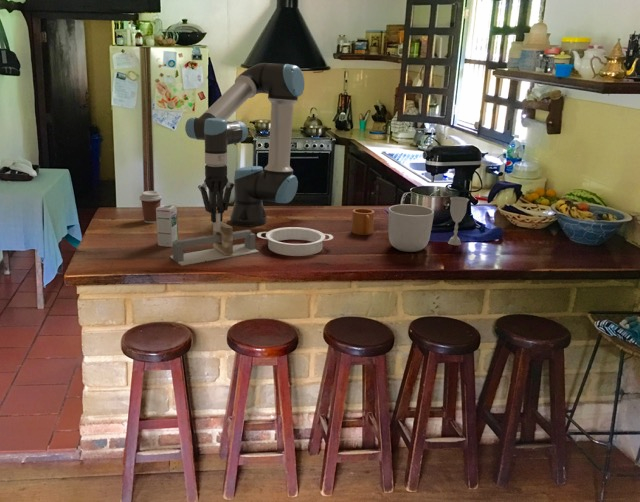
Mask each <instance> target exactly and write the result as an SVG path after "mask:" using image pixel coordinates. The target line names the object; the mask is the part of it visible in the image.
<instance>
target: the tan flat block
mask: <svg viewBox="0 0 640 502" xmlns="http://www.w3.org/2000/svg"><path fill="white" fill-rule="evenodd" d="M220 230H221V231H219V232H216V231H214V230H213V229H212V235H216V234H222V242H216V243H212V247H213V249H217V250H219V251H220V252H222V253H223V254H225V255H226V254H232V253H233V245H234V240H233V232H234V231H233V226H231V225H229V224H227V223H226V222H223V220H222V221H221V222H220Z"/></svg>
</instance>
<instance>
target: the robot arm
mask: <svg viewBox="0 0 640 502" xmlns="http://www.w3.org/2000/svg"><path fill="white" fill-rule="evenodd" d="M304 90H305V76H304V74H303V72H302V69H301V68H300V67H299V66H297V65H295V64H289V63H272V62H271V63H268V62H261V63H257V64H255V65H253V66H251V67H249V68H247V69H245V70H244V71H243V72H242V73H240V74H239V75H238V76H237V77H236V78H235V80H234V83H233V85H232V86H230V87H229V88H228V89H227V90H226V91H225V92H224V93H223V94H222V95H221V96H220V97H219V98H217V100H216V101H215V102H213V104H211V106H209V108H207V110H205V111H204V112H203V113H202V114H201V115H200V116H199V117H189V118H188V119H187V121H186V122H185V126H184V130H185V134H186V135H187V137H188V138H190V139H194V140H197V141H200V140H201V141H204V164H205V166H204V176H205V179H204V181H203V183H202V184H201V185H198V186H197V188H198V190H199V191H200V192H201V193H200V194H201V198H202V201H203V202H202V203H203V205H204V209H205V212H207V213H210V221H211V223H212V231H213V230H214V231H216V232H219V231H221V230H220V222H221V221H222V222H223V214H224V213H225V211H228V208H229V204H230V199H231V196H232V195H231V194H232V190H234V192H233V193H234V204H233V207H232V210H231V213H230V223H231V224H232V225H236V226H241V227H258V226H262V225H265V224H266V223H267V214H266V211H265V207H264V205H263V201H267V202H274V203H277V204H289V203H290V202H291V201H292V200H293V199H294V197H295V196H296V194H297V191H298V186H299V181H298V178H297V176H296V175H294V169H293V168H292V167H291V165H290V164H291V162H290V161H291V150H292V149H291V148H292V147H291V145H292V130H293V119H294V118H293V116H294V105H295V104H296V103H297V102H298V98H299V97H301V96H302V95H303V94H304ZM257 94H268V95H267V99H268V101H269V102H270V103H271V106H270V107H271V108H270V109H271V110H270V125H269V126H270V127H269V144H268V162H267V165H266V166H264V168H263V166H260V165H252V166H251V165H250V166H243V167H239V168H237V169H236V170H235V171H234V176H233V177H234V178H233V181H234V183H233V182H231V181H229V178H228V165H227V164H228V146H230V145H234V144H240V143H241V142H244V141H245V140H246V139H247V137H248V135H249V130H248V127H247V125H246V123H244V122H243V121H240V120H233V121H227V120H229V118H230V117H232V115H233V114H234V113H235V112H237V110H238V109H239V108H240V107H242V105H243V104H244V103H245V102H247V100H248V99H253V97H255V96H256V95H257ZM224 189H225V190H224ZM207 190H209V195H208V192H207Z"/></svg>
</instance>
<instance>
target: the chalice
mask: <svg viewBox="0 0 640 502" xmlns="http://www.w3.org/2000/svg"><path fill="white" fill-rule="evenodd" d="M449 199H450V207H449V208H450V209H449V212H450V216H451V218H452V221H453V222H455V224H454V230H453V233H454V234H453V235H452V236H451V237H450V238H449V240H448V241H447V243H448V244H449V245H451V246H460V245H462V242H461V239H460V237H458V232H459V231H458V229H459V223H461V222H462V220H463V218H464V217H465V215H466V213H467V207H468V203H469V201H470V199H469V198H468V197H463V196H450V198H449Z"/></svg>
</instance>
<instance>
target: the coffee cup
mask: <svg viewBox="0 0 640 502" xmlns="http://www.w3.org/2000/svg"><path fill="white" fill-rule="evenodd" d="M139 200H140V201H141V208H142V217H143V222H144V223H147V224H155V223H156V224H157V218H156V208H158V207H160V206H161V201H162V200H163V196H162V195H161V194H160V191H157V190H145V191H143V192H142V193H141V195H140V196H139Z"/></svg>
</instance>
